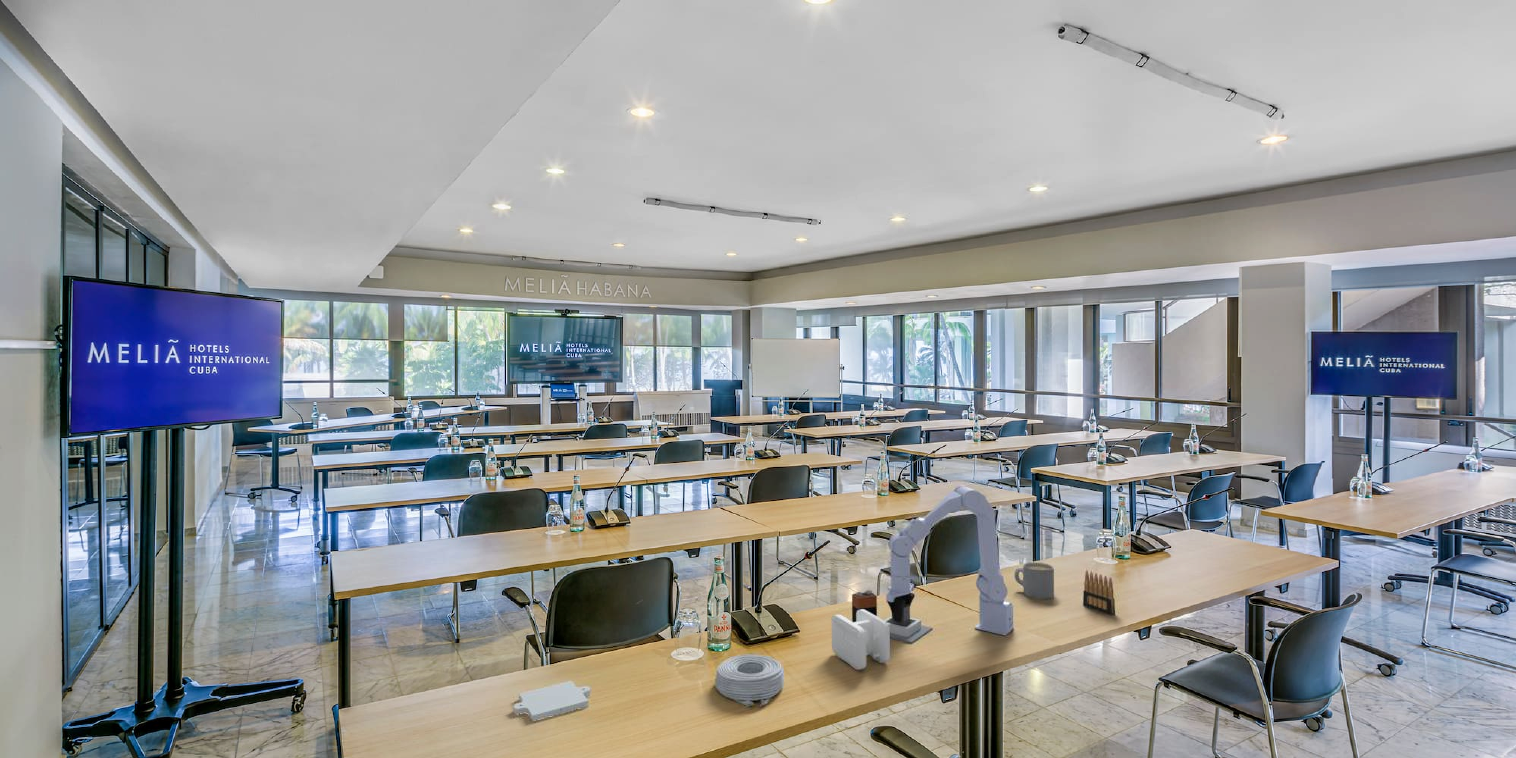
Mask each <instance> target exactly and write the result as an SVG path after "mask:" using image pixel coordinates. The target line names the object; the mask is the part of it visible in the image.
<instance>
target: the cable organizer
mask: <svg viewBox="0 0 1516 758" xmlns="http://www.w3.org/2000/svg"><path fill="white" fill-rule="evenodd" d="M890 639H891V638H890V629H889V625H888V624H887V622H886V621H885V619H882V618H881V617H879V616H878V615H877V616H875V615H874V614H872V613H870V612H868V611H866V610H864V609H861V610H858V611H857V612H856V621H855V622H852V620H851V619H849V618H847V617H845V616H843V615H841V614H833V615H832V617H831V648H832V651H833V653H834V654H835V655H836V656H837V657H838V658H839V659H840V658H841V659H840V660H842V661H844V662H845V663H847V664H848V665H850V666H851V668H854V669H855V670H858V671H860V670H864V669H866V668H867V656H870V657H872V658H873V661H874V660H875V661H877V662H878V663H880V664H884V663H888V662H889V661H890V659H891V648H890V647H891V646H890V645H891V644H890V642H891V641H890Z"/></svg>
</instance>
